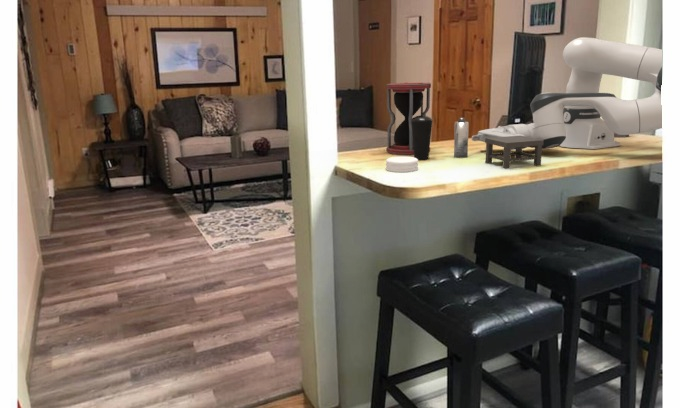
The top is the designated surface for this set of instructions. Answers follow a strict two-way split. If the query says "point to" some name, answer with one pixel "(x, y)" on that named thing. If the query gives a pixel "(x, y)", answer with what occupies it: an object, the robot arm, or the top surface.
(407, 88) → the hourglass
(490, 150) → the stool
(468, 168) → the top surface
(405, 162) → the coaster
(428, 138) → the drinking cup
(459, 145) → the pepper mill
